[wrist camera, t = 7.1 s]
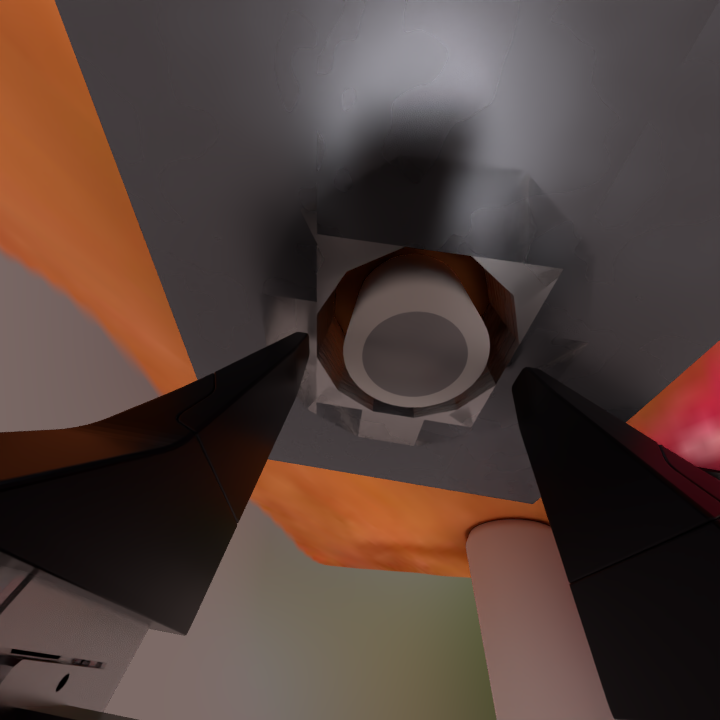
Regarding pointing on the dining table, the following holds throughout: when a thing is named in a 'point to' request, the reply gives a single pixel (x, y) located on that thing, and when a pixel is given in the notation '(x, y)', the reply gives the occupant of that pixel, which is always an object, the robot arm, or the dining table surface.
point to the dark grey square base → (424, 195)
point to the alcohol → (531, 626)
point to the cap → (415, 334)
